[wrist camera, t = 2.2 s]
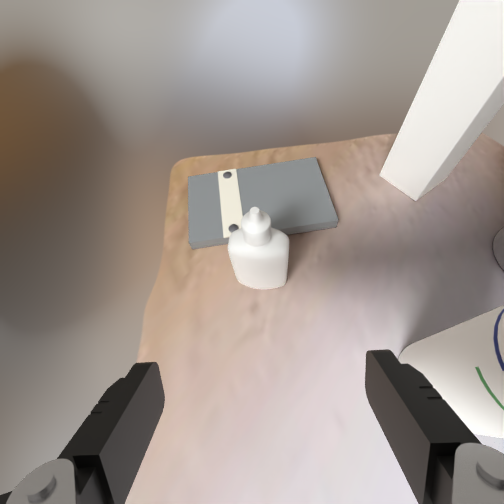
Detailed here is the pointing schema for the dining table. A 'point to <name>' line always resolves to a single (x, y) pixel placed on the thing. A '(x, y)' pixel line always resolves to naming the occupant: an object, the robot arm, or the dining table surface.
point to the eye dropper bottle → (259, 252)
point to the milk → (451, 100)
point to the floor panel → (258, 200)
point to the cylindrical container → (467, 369)
